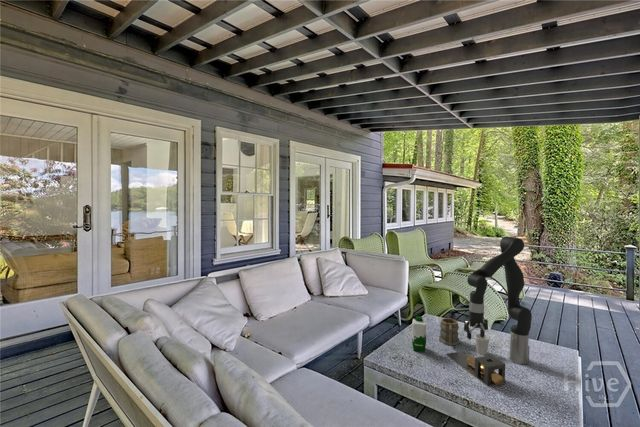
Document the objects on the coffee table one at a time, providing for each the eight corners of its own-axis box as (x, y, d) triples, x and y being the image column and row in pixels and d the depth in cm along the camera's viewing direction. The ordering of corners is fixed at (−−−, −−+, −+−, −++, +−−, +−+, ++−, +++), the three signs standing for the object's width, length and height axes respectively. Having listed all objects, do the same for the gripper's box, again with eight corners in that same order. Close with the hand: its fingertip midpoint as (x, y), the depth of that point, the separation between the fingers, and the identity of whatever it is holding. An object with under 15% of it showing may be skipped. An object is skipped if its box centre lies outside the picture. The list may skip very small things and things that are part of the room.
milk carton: (425, 346, 211) (425, 316, 209) (426, 353, 202) (427, 321, 201) (411, 344, 213) (411, 315, 211) (411, 351, 204) (412, 320, 203)
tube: (466, 364, 187) (465, 356, 187) (473, 363, 188) (473, 354, 188) (495, 386, 166) (495, 377, 165) (503, 384, 167) (503, 375, 167)
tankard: (439, 335, 227) (439, 314, 226) (458, 338, 222) (459, 317, 221) (438, 348, 208) (439, 325, 207) (459, 351, 204) (460, 328, 203)
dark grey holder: (445, 354, 200) (446, 338, 199) (461, 352, 203) (462, 336, 202) (487, 386, 167) (488, 367, 166) (505, 383, 170) (506, 364, 169)
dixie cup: (480, 348, 208) (481, 333, 208) (492, 354, 201) (492, 338, 200) (471, 350, 205) (471, 335, 205) (482, 356, 197) (483, 340, 197)
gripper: (482, 306, 187) (481, 333, 188) (461, 308, 184) (460, 336, 185) (492, 311, 180) (491, 339, 181) (470, 313, 176) (469, 342, 177)
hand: (475, 338), depth 183 cm, fingers open, 8 cm apart
